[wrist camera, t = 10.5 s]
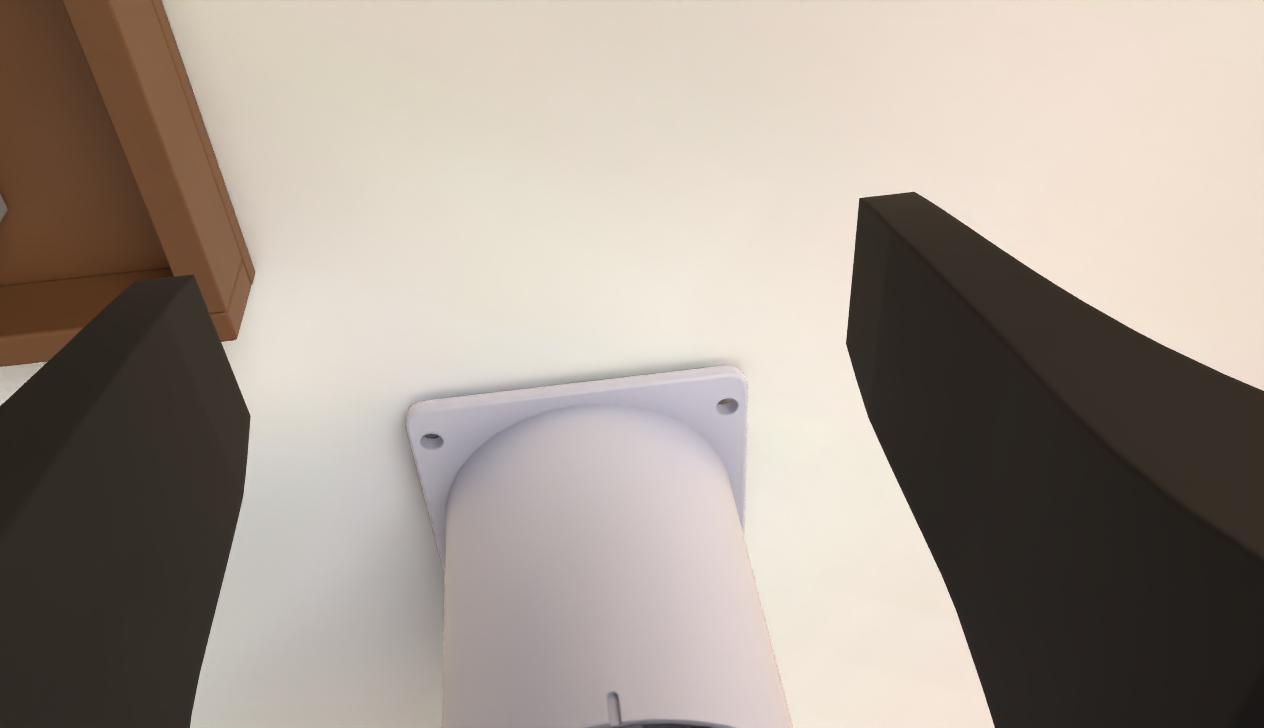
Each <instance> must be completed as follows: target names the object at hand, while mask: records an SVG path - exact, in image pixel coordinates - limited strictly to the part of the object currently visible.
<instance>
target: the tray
mask: <svg viewBox="0 0 1264 728" xmlns="http://www.w3.org/2000/svg"><path fill="white" fill-rule="evenodd" d="M0 194H1V196H2V198H3V200H4V202H5V204H6V206H7V213H6V215H5V216H4V218H3V219H2V221H1V223H0V367H2V366H11V365H20V364H29V363H37V362H46V361H49V360H50V359H51V358H52V357H53V356H55V355H56V354H57V353H58V352H59V351H60V350H61V349H62V348H63V347H64V346H65V345H66V344H67V343H68V342H69V341H70V340H71V339H72V338H73V337H74V336H75V335H77V334H78V333H79V332H80V331H81V330H82V329H83V328H84V327H85V326H86V325H87V324H88V323H89V322H90V321H91V320H92V319H93V318H94V317H95V316H97V315H98V314H99V313H100V312H101V311H102V310H103V309H104V308H105V307H106V306H107V305H108V304H109V303H111V302H112V301H113V300H114V299H115V298H116V297H117V296H118V295H119V294H121V293H122V292H123V291H124V290H125V289H127V288H128V287H129V286H130V285H132V284H133V283H134V282H135V281H141V280H149V279H158V278H167V277H175V276H184V275H193V274H194V276H195V279H196V281H197V284H198V286H199V289H200V291H201V294H202V296H203V299H204V301H205V304H206V306H207V309H208V311H209V314H210V316H211V319H212V321H213V324H214V326H215V329H216V331H217V334H218V336H219V339H220V341H221V342H224V341H233V340H236V339H237V337H238V333H239V329H240V326H241V322H242V318H243V314H244V311H245V307H246V303H247V300H248V296H249V292H250V288H251V285H252V283H253V279H254V275H255V270H254V267H253V264H252V261H251V258H250V256H249V253H248V250H247V247H246V244H245V241H244V238H243V235H242V232H241V229H240V227H239V224H238V221H237V218H236V215H235V212H234V209H233V206H232V203H231V200H230V198H229V195H228V192H227V189H226V186H225V183H224V180H223V177H222V174H221V172H220V169H219V166H218V163H217V160H216V157H215V154H214V151H213V148H212V145H211V143H210V140H209V137H208V134H207V131H206V128H205V125H204V122H203V119H202V116H201V114H200V111H199V108H198V105H197V102H196V99H195V96H194V93H193V90H192V87H191V85H190V82H189V79H188V76H187V73H186V70H185V67H184V64H183V61H182V58H181V56H180V53H179V50H178V47H177V44H176V41H175V38H174V35H173V32H172V30H171V27H170V24H169V21H168V18H167V15H166V12H165V9H164V6H163V3H162V1H161V0H0Z"/></svg>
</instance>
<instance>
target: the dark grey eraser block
mask: <svg viewBox="0 0 1264 728" xmlns="http://www.w3.org/2000/svg"><path fill="white" fill-rule="evenodd" d="M6 213H7V206H6V204H5V202H4V200H3V198H2V196H1V194H0V223H1V221H2V219H3V218H4V216H5V215H6Z"/></svg>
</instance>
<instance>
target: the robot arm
mask: <svg viewBox="0 0 1264 728" xmlns="http://www.w3.org/2000/svg"><path fill="white" fill-rule="evenodd" d="M846 345H847V348H848V352H849V355H850V359H851V362H852V366H853V369H854V372H855V376H856V379H857V383H858V386H859V389H860V392H861V396H862V399H863V402H864V405H865V408H866V411H867V414H868V417H869V420H870V422H871V424H872V426H873V429H874V431H875V433H876V435H877V438H878V440H879V442H880V444H881V446H882V448H883V451H884V453H885V455H886V457H887V459H888V462H889V464H890V466H891V468H892V470H893V472H894V475H895V477H896V479H897V481H898V483H899V485H900V487H901V489H902V492H903V494H904V496H905V498H906V500H907V502H908V504H909V506H910V509H911V511H912V513H913V515H914V517H915V519H916V521H917V523H918V526H919V528H920V530H921V532H922V534H923V536H924V538H925V541H926V543H927V545H928V547H929V549H930V551H931V553H932V555H933V558H934V560H935V562H936V564H937V566H938V568H939V570H940V572H941V575H942V577H943V579H944V582H945V584H946V587H947V589H948V592H949V594H950V596H951V599H952V601H953V604H954V606H955V609H956V611H957V614H958V617H959V620H960V623H961V626H962V629H963V632H964V635H965V638H966V641H967V643H968V646H969V649H970V652H971V655H972V658H973V661H974V664H975V667H976V670H977V673H978V676H979V679H980V682H981V685H982V688H983V691H984V694H985V697H986V700H987V704H988V707H989V710H990V713H991V716H992V719H993V723H994V726H995V728H1264V391H1262V390H1260V389H1258V388H1255V387H1253V386H1250V385H1248V384H1246V383H1243V382H1241V381H1239V380H1236V379H1234V378H1232V377H1229V376H1227V375H1225V374H1223V373H1220V372H1218V371H1216V370H1214V369H1212V368H1210V367H1208V366H1206V365H1203V364H1201V363H1199V362H1197V361H1195V360H1193V359H1191V358H1189V357H1186V356H1184V355H1182V354H1180V353H1178V352H1176V351H1174V350H1172V349H1170V348H1167V347H1165V346H1163V345H1161V344H1159V343H1157V342H1156V341H1154V340H1152V339H1150V338H1148V337H1146V336H1144V335H1142V334H1140V333H1138V332H1136V331H1134V330H1133V329H1131V328H1129V327H1127V326H1125V325H1124V324H1122V323H1120V322H1118V321H1117V320H1115V319H1113V318H1111V317H1110V316H1108V315H1106V314H1104V313H1103V312H1101V311H1099V310H1097V309H1096V308H1094V307H1092V306H1090V305H1088V304H1087V303H1085V302H1083V301H1082V300H1080V299H1078V298H1077V297H1075V296H1073V295H1072V294H1070V293H1068V292H1067V291H1065V290H1064V289H1062V288H1060V287H1059V286H1057V285H1055V284H1054V283H1052V282H1051V281H1049V280H1047V279H1046V278H1044V277H1043V276H1041V275H1040V274H1038V273H1036V272H1035V271H1033V270H1032V269H1030V268H1029V267H1027V266H1026V265H1024V264H1023V263H1021V262H1020V261H1018V260H1017V259H1015V258H1014V257H1012V256H1011V255H1009V254H1008V253H1006V252H1005V251H1003V250H1002V249H1000V248H999V247H997V246H996V245H994V244H993V243H991V242H990V241H988V240H987V239H985V238H984V237H982V236H981V235H979V234H978V233H976V232H975V231H974V230H972V229H971V228H969V227H968V226H966V225H965V224H963V223H962V222H960V221H959V220H957V219H956V218H954V217H953V216H951V215H950V214H948V213H947V212H946V211H944V210H943V209H941V208H939V207H938V206H936V205H935V204H933V203H932V202H930V201H929V200H927V199H925V198H924V197H922V196H920V195H919V194H917V193H915V192H909V193H900V194H892V195H883V196H874V197H865V198H860V199H859V209H858V220H857V231H856V242H855V253H854V264H853V275H852V285H851V296H850V307H849V318H848V329H847V340H846ZM727 398H728V399H733V400H731V401H730V402H729V403H725V404H718V403H719V402H720V401H721V400H724V399H727ZM747 398H748V386H747V382H746V379H745V375H744V373H743V372H742V371H741V370H740V369H739V368H737V367H735V366H728V365H723V366H715V367H706V368H698V369H689V370H681V371H672V372H663V373H655V374H646V375H638V376H629V377H621V378H612V379H604V380H595V381H586V382H578V383H569V384H561V385H552V386H544V387H535V388H527V389H518V390H509V391H501V392H492V393H484V394H475V395H467V396H458V397H450V398H441V399H433V400H424V401H421V402H417V403H415V404H414V405H412V406H411V407H410V408H409V410H408V411H407V416H406V429H407V433H408V437H409V441H410V444H411V448H412V452H413V456H414V460H415V463H416V467H417V471H418V475H419V479H420V482H421V486H422V490H423V494H424V498H425V501H426V505H427V509H428V513H429V517H430V520H431V524H432V528H433V532H434V536H435V539H436V543H437V547H438V551H439V555H440V558H441V562H442V566H443V570H444V574H445V600H444V645H443V689H442V728H793V724H792V721H791V717H790V713H789V709H788V705H787V701H786V697H785V694H784V690H783V686H782V682H781V678H780V674H779V670H778V666H777V663H776V659H775V655H774V651H773V647H772V643H771V639H770V636H769V632H768V628H767V624H766V620H765V616H764V612H763V608H762V605H761V601H760V597H759V593H758V589H757V585H756V581H755V578H754V574H753V570H752V566H751V562H750V558H749V554H748V551H747V547H746V543H745V539H744V523H745V481H746V440H747ZM249 428H250V414H249V411H248V409H247V406H246V404H245V401H244V399H243V396H242V394H241V391H240V389H239V386H238V384H237V381H236V379H235V376H234V374H233V371H232V369H231V366H230V364H229V361H228V359H227V356H226V354H225V351H224V349H223V346H222V344H221V341H220V339H219V336H218V334H217V331H216V329H215V326H214V324H213V321H212V319H211V316H210V314H209V311H208V309H207V306H206V304H205V301H204V299H203V296H202V294H201V291H200V289H199V286H198V284H197V281H196V279H195V276H194V274H193V275H184V276H175V277H167V278H158V279H149V280H141V281H135V282H134V283H133V284H132V285H130V286H129V287H128V288H127V289H125V290H124V291H123V292H122V293H121V294H119V295H118V296H117V297H116V298H115V299H114V300H113V301H112V302H111V303H109V304H108V305H107V306H106V307H105V308H104V309H103V310H102V311H101V312H100V313H99V314H98V315H97V316H95V317H94V318H93V319H92V320H91V321H90V322H89V323H88V324H87V325H86V326H85V327H84V328H83V329H82V330H81V331H80V332H79V333H78V334H77V335H75V336H74V337H73V338H72V339H71V340H70V341H69V342H68V343H67V344H66V345H65V346H64V347H63V348H62V349H61V350H60V351H59V352H58V353H57V354H56V355H55V356H53V357H52V358H51V359H50V360H49V361H48V362H47V363H46V364H45V365H44V366H43V367H42V368H41V369H40V370H39V371H38V372H36V373H35V374H34V375H33V376H32V377H31V378H30V379H29V380H28V381H27V382H26V383H25V384H24V385H23V386H22V387H21V388H19V389H18V390H17V391H16V392H15V393H14V394H13V395H12V396H11V397H10V398H9V399H8V400H7V401H6V402H4V403H3V404H2V405H1V406H0V728H190V722H191V715H192V709H193V704H194V699H195V694H196V689H197V684H198V679H199V674H200V670H201V666H202V662H203V658H204V654H205V650H206V646H207V642H208V638H209V634H210V630H211V626H212V622H213V618H214V614H215V610H216V606H217V602H218V598H219V594H220V590H221V586H222V582H223V578H224V574H225V570H226V566H227V562H228V558H229V554H230V550H231V545H232V541H233V537H234V533H235V529H236V525H237V521H238V516H239V512H240V508H241V503H242V499H243V493H244V484H245V474H246V465H247V454H248V441H249ZM427 434H436V435H438V436H440V437H437V438H427V437H425V436H424V435H427Z"/></svg>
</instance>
